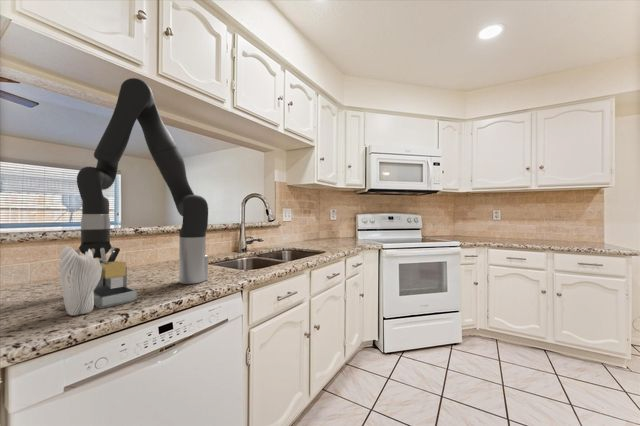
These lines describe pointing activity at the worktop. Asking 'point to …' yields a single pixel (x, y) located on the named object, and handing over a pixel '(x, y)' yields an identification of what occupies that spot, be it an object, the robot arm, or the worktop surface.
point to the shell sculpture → (78, 280)
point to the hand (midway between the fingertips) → (95, 279)
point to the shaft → (113, 281)
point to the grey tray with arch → (113, 294)
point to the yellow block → (113, 269)
